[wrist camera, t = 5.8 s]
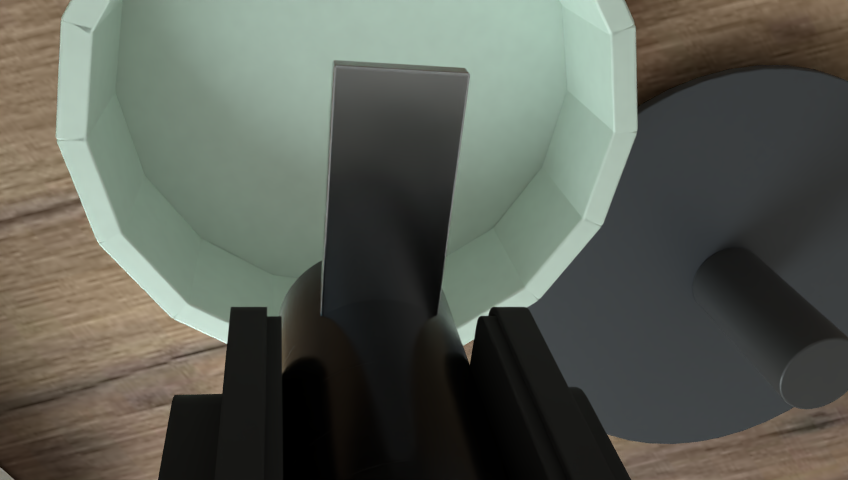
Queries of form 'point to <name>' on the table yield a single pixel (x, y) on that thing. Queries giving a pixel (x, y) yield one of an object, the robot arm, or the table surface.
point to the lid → (715, 262)
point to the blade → (384, 294)
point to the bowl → (309, 129)
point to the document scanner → (4, 475)
